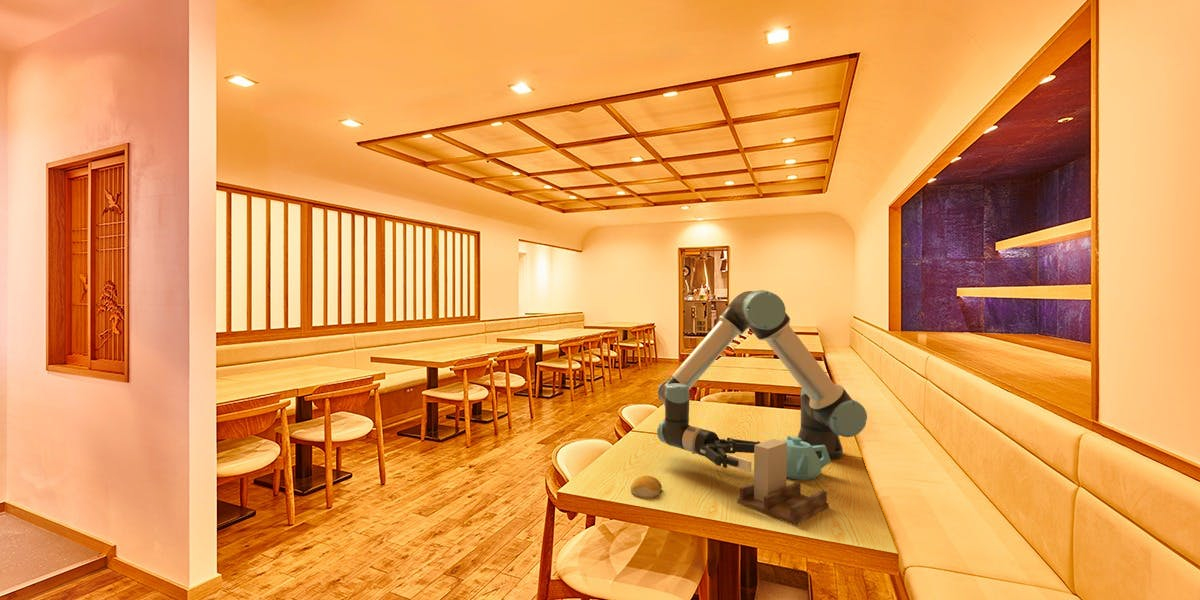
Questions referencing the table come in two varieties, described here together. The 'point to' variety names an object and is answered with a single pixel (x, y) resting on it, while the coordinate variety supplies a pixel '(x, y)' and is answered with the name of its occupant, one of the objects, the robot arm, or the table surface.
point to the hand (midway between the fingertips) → (765, 461)
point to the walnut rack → (786, 503)
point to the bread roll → (646, 487)
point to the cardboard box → (769, 467)
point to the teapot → (804, 459)
